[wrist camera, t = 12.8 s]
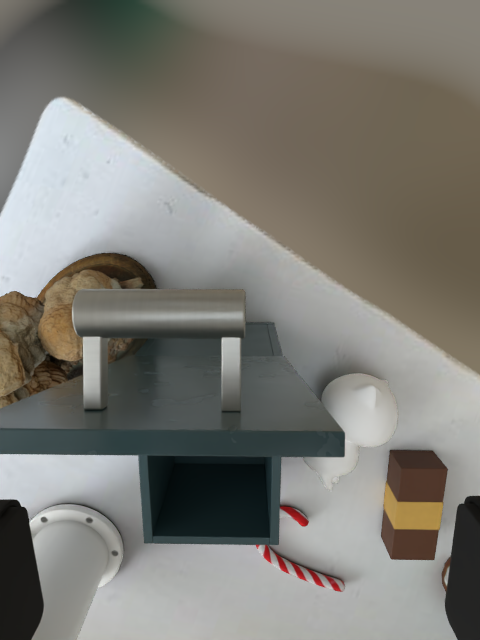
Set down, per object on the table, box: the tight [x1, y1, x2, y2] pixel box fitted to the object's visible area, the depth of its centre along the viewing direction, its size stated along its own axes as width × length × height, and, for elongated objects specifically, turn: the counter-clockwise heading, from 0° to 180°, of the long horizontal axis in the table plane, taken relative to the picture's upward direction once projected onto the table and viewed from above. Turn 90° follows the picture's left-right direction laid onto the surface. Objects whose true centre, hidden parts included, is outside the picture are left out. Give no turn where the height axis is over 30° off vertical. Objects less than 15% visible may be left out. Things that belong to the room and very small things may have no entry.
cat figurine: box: [303, 373, 398, 491], centre depth 41 cm, size 9×11×12 cm
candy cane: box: [256, 506, 345, 592], centre depth 48 cm, size 8×1×15 cm
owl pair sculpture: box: [0, 253, 156, 408], centre depth 34 cm, size 18×12×17 cm, turn 138°
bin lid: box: [0, 289, 345, 457], centre depth 21 cm, size 18×12×5 cm
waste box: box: [135, 323, 283, 545], centre depth 38 cm, size 18×12×12 cm
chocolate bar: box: [381, 450, 448, 560], centre depth 45 cm, size 5×12×4 cm, turn 0°
